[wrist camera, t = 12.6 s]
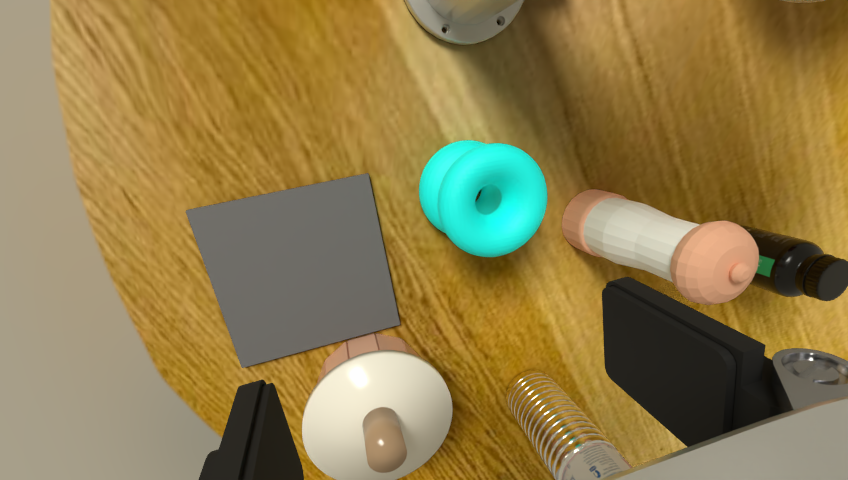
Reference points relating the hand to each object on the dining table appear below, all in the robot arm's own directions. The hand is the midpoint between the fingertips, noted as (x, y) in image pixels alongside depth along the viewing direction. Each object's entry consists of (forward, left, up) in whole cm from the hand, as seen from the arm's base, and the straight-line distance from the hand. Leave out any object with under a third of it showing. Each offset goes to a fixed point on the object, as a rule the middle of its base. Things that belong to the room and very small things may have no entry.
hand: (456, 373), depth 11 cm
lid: (+3, +22, -26) cm, 34 cm away
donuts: (-11, +2, -33) cm, 34 cm away
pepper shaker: (-26, +9, -32) cm, 43 cm away
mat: (+7, +7, -32) cm, 34 cm away
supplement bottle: (-47, +18, -32) cm, 60 cm away
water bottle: (-16, +30, -32) cm, 47 cm away
